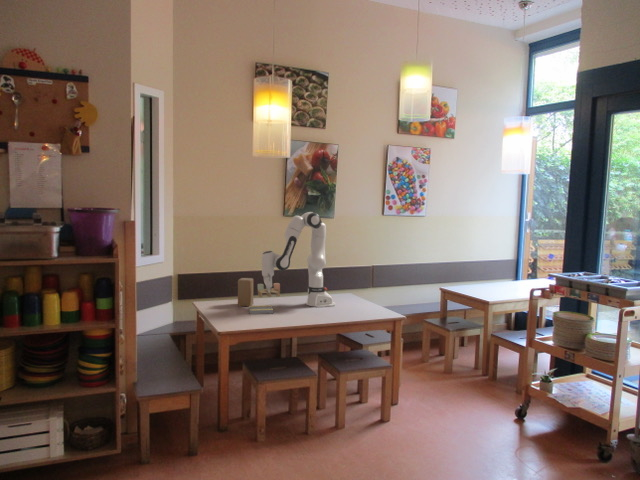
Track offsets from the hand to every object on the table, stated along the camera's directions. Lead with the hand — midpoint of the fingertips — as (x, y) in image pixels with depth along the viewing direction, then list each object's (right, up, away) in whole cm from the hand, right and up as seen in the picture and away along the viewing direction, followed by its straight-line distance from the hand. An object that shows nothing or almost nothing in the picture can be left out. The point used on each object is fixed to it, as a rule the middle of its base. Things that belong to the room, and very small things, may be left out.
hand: (268, 291), depth 361 cm
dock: (-4, -13, -11) cm, 18 cm away
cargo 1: (-5, +1, -1) cm, 6 cm away
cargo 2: (+6, +2, +2) cm, 7 cm away
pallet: (0, -3, 0) cm, 3 cm away
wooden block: (-18, -11, +9) cm, 23 cm away
